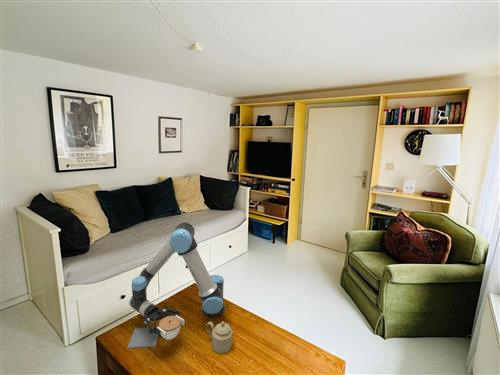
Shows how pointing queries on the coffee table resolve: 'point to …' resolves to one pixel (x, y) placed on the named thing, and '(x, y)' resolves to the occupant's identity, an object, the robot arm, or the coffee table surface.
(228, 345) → the beige teapot
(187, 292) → the coffee table surface
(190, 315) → the coffee table surface
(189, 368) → the coffee table surface
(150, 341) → the slate mat
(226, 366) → the coffee table surface
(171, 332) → the lidded jar
